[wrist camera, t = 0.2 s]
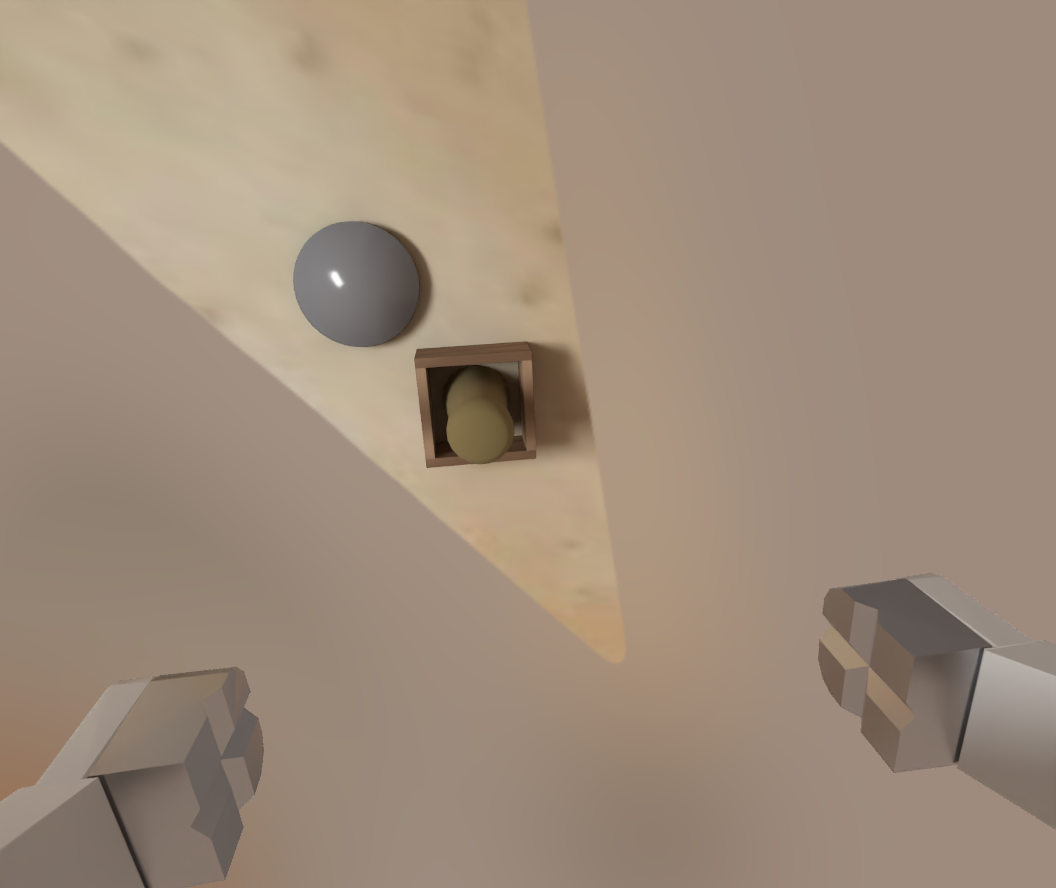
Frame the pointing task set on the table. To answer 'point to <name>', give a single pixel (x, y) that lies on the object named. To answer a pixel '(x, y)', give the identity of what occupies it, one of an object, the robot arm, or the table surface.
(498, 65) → the table surface
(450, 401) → the cork
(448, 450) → the walnut holder
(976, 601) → the robot arm
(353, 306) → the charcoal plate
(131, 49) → the table surface
